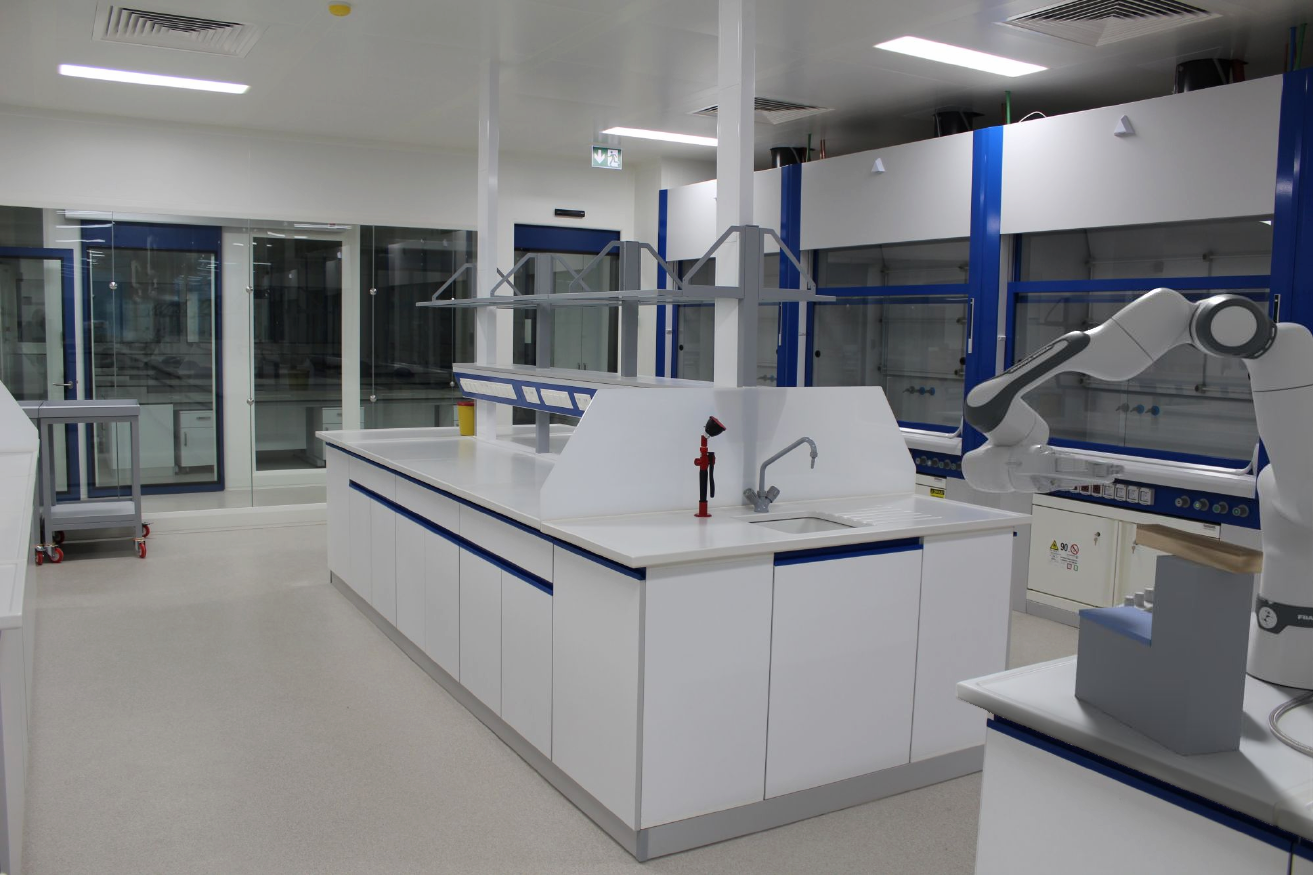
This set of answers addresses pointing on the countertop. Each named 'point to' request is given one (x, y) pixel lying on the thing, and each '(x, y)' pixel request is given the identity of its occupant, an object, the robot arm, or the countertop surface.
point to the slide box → (1200, 548)
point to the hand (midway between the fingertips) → (1104, 467)
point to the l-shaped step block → (1173, 658)
